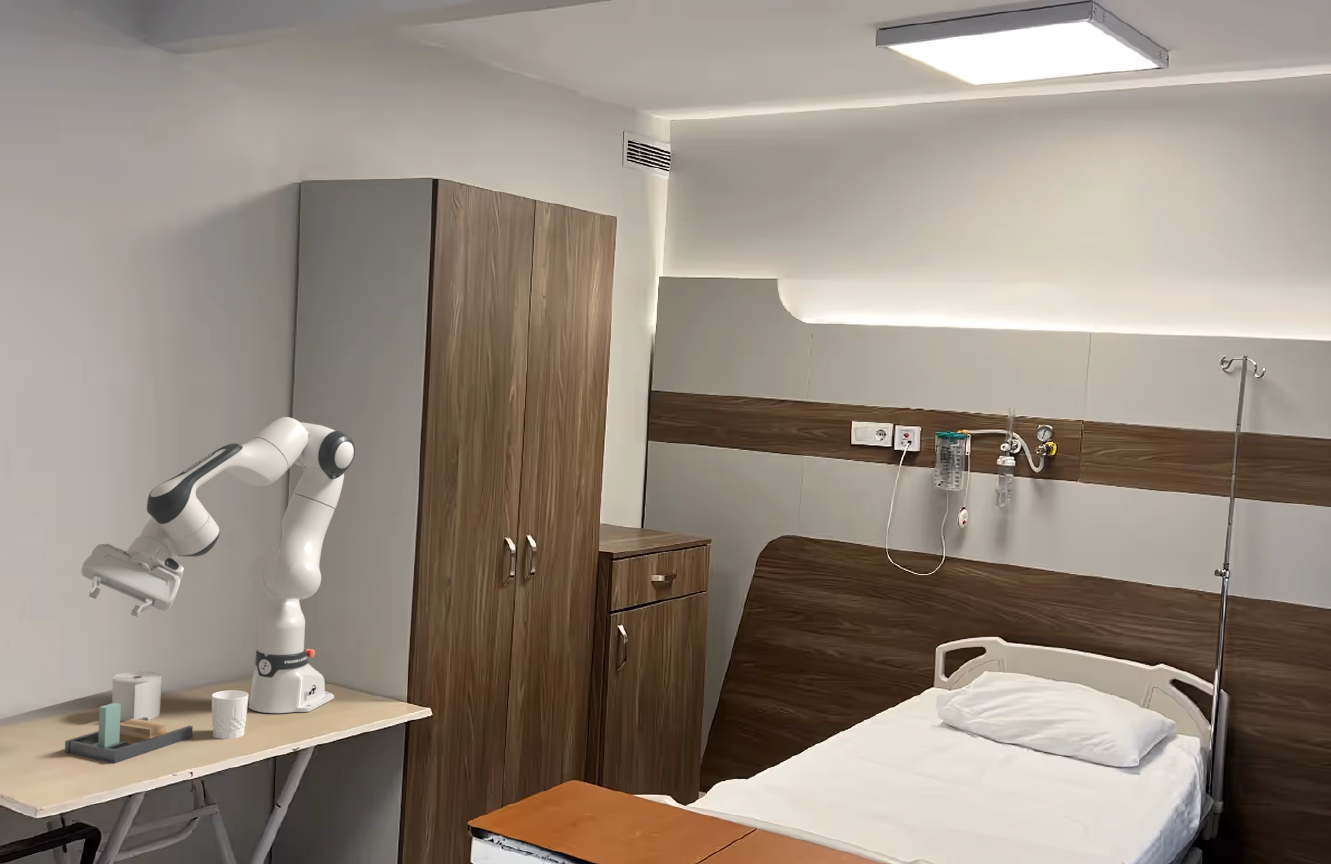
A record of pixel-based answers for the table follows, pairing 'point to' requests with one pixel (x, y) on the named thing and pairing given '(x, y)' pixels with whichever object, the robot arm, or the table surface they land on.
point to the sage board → (109, 724)
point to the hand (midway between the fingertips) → (113, 605)
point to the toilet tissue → (137, 694)
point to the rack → (123, 745)
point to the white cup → (229, 713)
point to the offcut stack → (140, 730)
